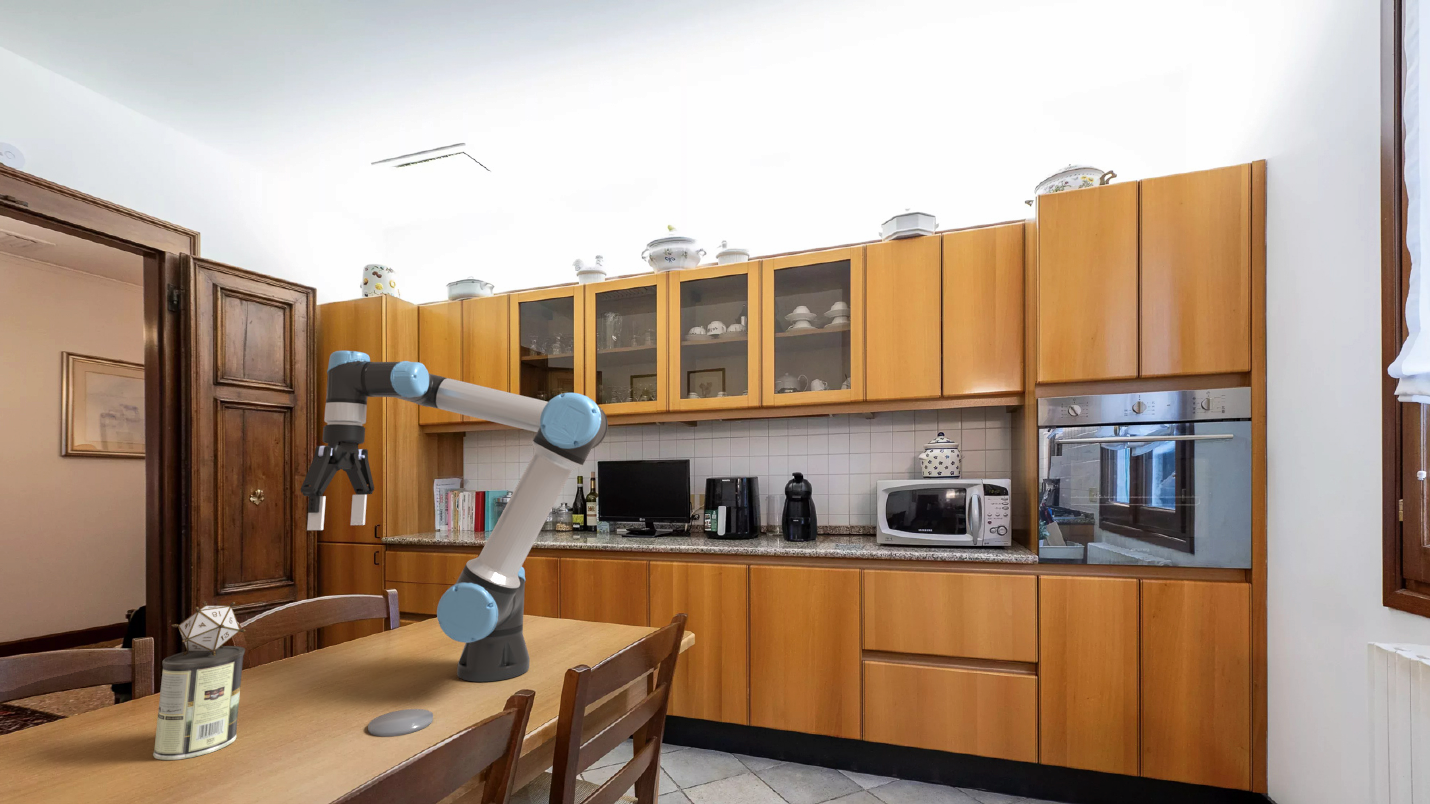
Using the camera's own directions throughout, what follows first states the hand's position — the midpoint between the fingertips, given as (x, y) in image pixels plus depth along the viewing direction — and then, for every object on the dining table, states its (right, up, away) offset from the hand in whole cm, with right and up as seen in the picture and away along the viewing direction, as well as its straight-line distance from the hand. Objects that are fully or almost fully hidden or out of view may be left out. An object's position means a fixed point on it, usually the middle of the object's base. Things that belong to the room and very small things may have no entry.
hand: (337, 527), depth 125 cm
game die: (-5, -15, -26) cm, 31 cm away
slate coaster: (+23, -30, -19) cm, 43 cm away
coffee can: (-5, -29, -28) cm, 41 cm away
